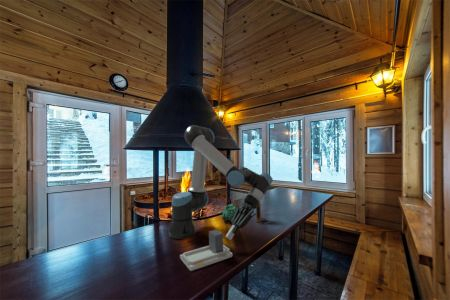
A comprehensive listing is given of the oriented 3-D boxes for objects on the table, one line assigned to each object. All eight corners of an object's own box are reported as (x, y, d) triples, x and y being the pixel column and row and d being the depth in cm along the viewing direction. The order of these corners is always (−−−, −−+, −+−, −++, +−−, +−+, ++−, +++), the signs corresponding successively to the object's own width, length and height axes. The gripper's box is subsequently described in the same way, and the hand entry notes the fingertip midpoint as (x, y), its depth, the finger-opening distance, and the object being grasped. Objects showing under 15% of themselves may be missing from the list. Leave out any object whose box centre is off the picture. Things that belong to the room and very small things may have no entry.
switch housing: (218, 246, 98) (218, 241, 98) (232, 256, 88) (232, 250, 88) (180, 258, 87) (180, 252, 87) (190, 271, 77) (190, 264, 77)
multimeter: (271, 225, 127) (270, 194, 128) (256, 224, 129) (255, 193, 130) (271, 218, 141) (270, 190, 142) (257, 217, 143) (256, 190, 144)
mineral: (216, 217, 146) (216, 203, 147) (236, 215, 151) (236, 202, 151) (224, 225, 129) (223, 209, 129) (246, 222, 133) (246, 207, 134)
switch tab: (216, 246, 94) (216, 229, 94) (223, 251, 89) (222, 233, 89) (209, 248, 92) (208, 231, 92) (215, 254, 86) (215, 235, 87)
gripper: (266, 205, 99) (240, 247, 89) (249, 200, 110) (225, 238, 100) (258, 195, 96) (230, 238, 87) (241, 192, 107) (216, 229, 98)
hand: (227, 238), depth 93 cm, fingers closed
